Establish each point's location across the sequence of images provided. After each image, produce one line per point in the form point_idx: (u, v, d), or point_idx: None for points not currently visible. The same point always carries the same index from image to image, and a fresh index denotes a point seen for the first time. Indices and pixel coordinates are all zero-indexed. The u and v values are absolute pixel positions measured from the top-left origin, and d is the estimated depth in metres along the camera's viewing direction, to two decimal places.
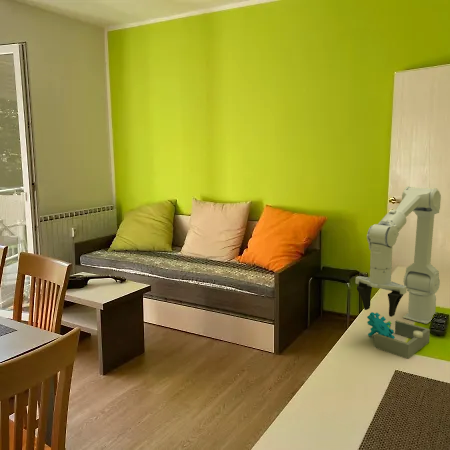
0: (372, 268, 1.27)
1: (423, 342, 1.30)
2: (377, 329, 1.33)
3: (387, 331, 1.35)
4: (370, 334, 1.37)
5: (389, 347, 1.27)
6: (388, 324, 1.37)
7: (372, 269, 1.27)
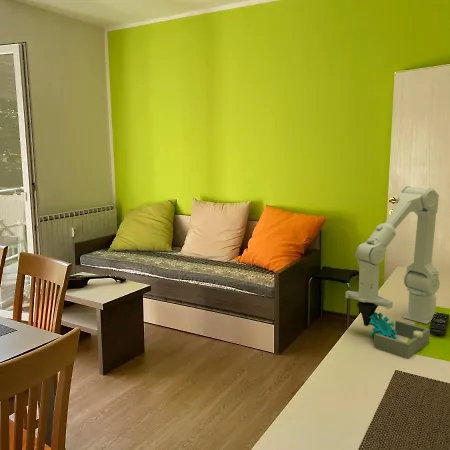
0: (360, 284, 1.35)
1: (423, 342, 1.30)
2: (379, 329, 1.32)
3: (390, 331, 1.34)
4: (373, 334, 1.37)
5: (389, 347, 1.27)
6: (391, 324, 1.37)
7: (360, 285, 1.35)
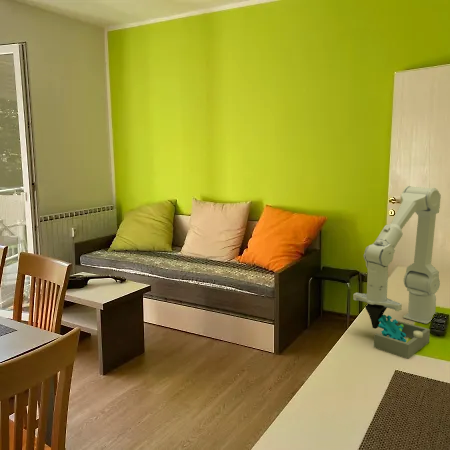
0: (369, 286, 1.33)
1: (423, 342, 1.30)
2: (388, 332, 1.30)
3: (399, 334, 1.32)
4: None
5: (389, 347, 1.27)
6: (400, 327, 1.35)
7: (369, 287, 1.33)
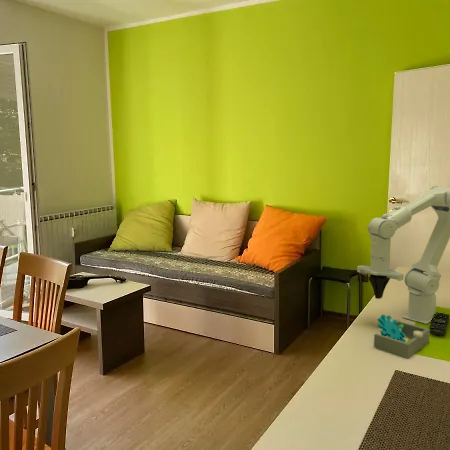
0: (372, 257, 1.40)
1: (423, 342, 1.30)
2: (387, 332, 1.31)
3: (398, 334, 1.32)
4: None
5: (389, 347, 1.27)
6: (400, 327, 1.35)
7: (372, 258, 1.40)
